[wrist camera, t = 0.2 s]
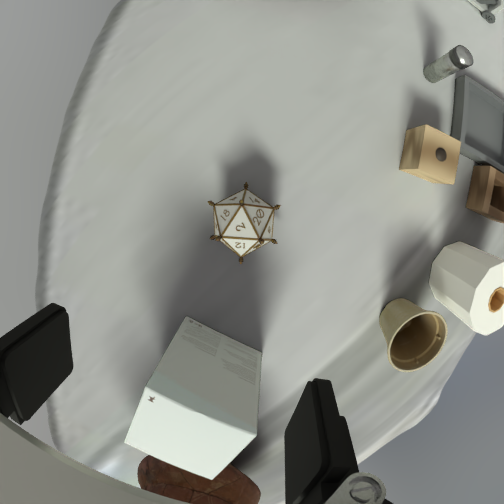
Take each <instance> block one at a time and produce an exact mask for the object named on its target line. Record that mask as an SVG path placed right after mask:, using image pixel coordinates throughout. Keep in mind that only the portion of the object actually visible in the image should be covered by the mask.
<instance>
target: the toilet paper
mask: <svg viewBox="0 0 504 504" xmlns="http://www.w3.org/2000/svg"><path fill="white" fill-rule="evenodd" d="M429 284H430V287H431V289H432V292H433V295H434V297H435V298H436V299H437V300H438V301H439V302H440V303H442V304H443V305H444V306H445V307H446V308H448V309H449V310H450V311H451V312H452V313H454V314H455V315H456V316H457V317H458V318H459V319H461V320H462V321H463V322H464V323H465V324H466V325H467V326H469V327H470V328H471V329H472V330H473V331H475V332H478V333H480V334H483V335H488V334H490V333H492V332H494V331H496V330H498V329H499V328H501V327H502V326H503V325H504V260H503V259H501V258H498V257H496V256H494V255H491V254H489V253H487V252H484V251H482V250H480V249H477V248H475V247H472V246H470V245H468V244H465V243H463V242H460V241H459V242H456V243H453V244H450V245H447V246H444V248H443V249H442V250H441V252H440V253H439V254H438V256H437V257H436V258H435V260H434V261H433V262H432V268H431V273H430V279H429Z"/></svg>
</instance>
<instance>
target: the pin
mask: <svg viewBox="0 0 504 504" xmlns="http://www.w3.org/2000/svg"><path fill="white" fill-rule="evenodd" d="M472 64H473V57H472V55H471V53H470V52H469V50H468V49H467V48H465V47H464V46H461V45H458V46H456V47H455V48H453V49H452V50H450V51H449V52H448V53H447V54H445V55H444V56H442V57H441V58H439V59H437V60H436V61H434V62H433V63H431V64H430V65H428V66H427V67H425V68H424V70H423V73H424V76H425V78H426V79H427V80H428V81H429V82H431V83H436V82H438V81H440V80H442V79H444V78H446V77H447V76H449V75H451V74H453V73H455V72H457V71H459V70H461V69H465V68H467V67H469V66H471V65H472Z"/></svg>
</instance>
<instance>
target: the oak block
mask: <svg viewBox="0 0 504 504" xmlns="http://www.w3.org/2000/svg"><path fill="white" fill-rule="evenodd" d="M460 146H461V142H460V141H458V140H457V139H455V138H453V137H451V136H449V135H447V134H445V133H443V132H441V131H439V130H437V129H435V128H433V127H431V126H428V125H426V124H425V125H422V126H419V127H415V128H412V129H409V130H406V136H405V141H404V147H403V152H402V157H401V162H400V167H399V170H401V171H404V172H407V173H409V174H412V175H414V176H417V177H419V178H422V179H424V180H427V181H429V182H432V183H442V184H454V182H455V177H456V171H457V165H458V159H459V153H460Z"/></svg>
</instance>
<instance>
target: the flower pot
mask: <svg viewBox="0 0 504 504" xmlns="http://www.w3.org/2000/svg"><path fill="white" fill-rule="evenodd" d="M379 323H380V327H381V329H382V331H383V334H384V337H385V339H386V342H387V345H388V346H387V347H388V350H387V354H388V359H389V362H390V364H391V365H392V366H393V367H394V368H395V369H397V370H399V371H402V372H412V371H416V370H419V369H421V368H423V367H425V366H426V365H428V364H429V363H430V362H432V360H434V359H435V358H436V356H437V355H438V354H439V353H440V351H441V350H442V348H443V346H444V344H445V341H446V338H447V324H446V321H445V319H444V318H443V317H442V316H441V315H440V314H439V313H437V312H434V311H427V310H424V309H422V308H420V307H419V306H417V305H415V304H414V303H412V302H411V301H409V300H407V299H404V298H399V299H395V300H393V301H391V302H390V303H388V304H387V305H386V307H385V308H384V310H383V311H382V313H381V315H380V319H379ZM400 328H401V329H400Z"/></svg>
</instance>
